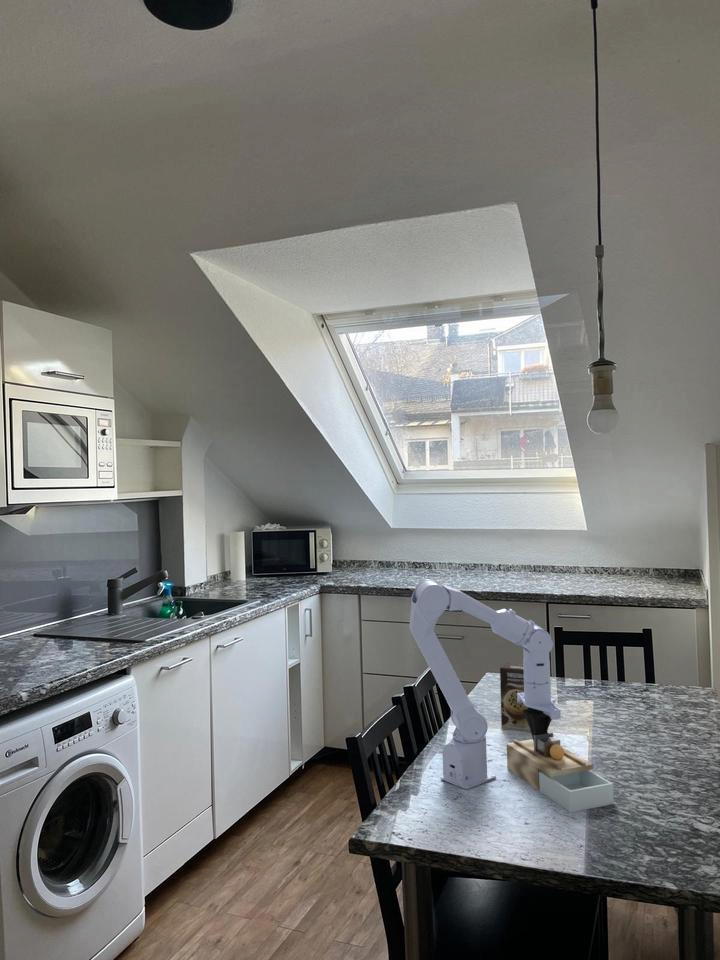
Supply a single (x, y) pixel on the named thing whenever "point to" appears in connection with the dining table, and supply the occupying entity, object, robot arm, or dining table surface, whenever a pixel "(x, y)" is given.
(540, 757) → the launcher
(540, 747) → the brushed steel stepped cube
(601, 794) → the open box
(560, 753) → the ball
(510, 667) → the coffee box
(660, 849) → the dining table surface
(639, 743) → the dining table surface
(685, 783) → the dining table surface
